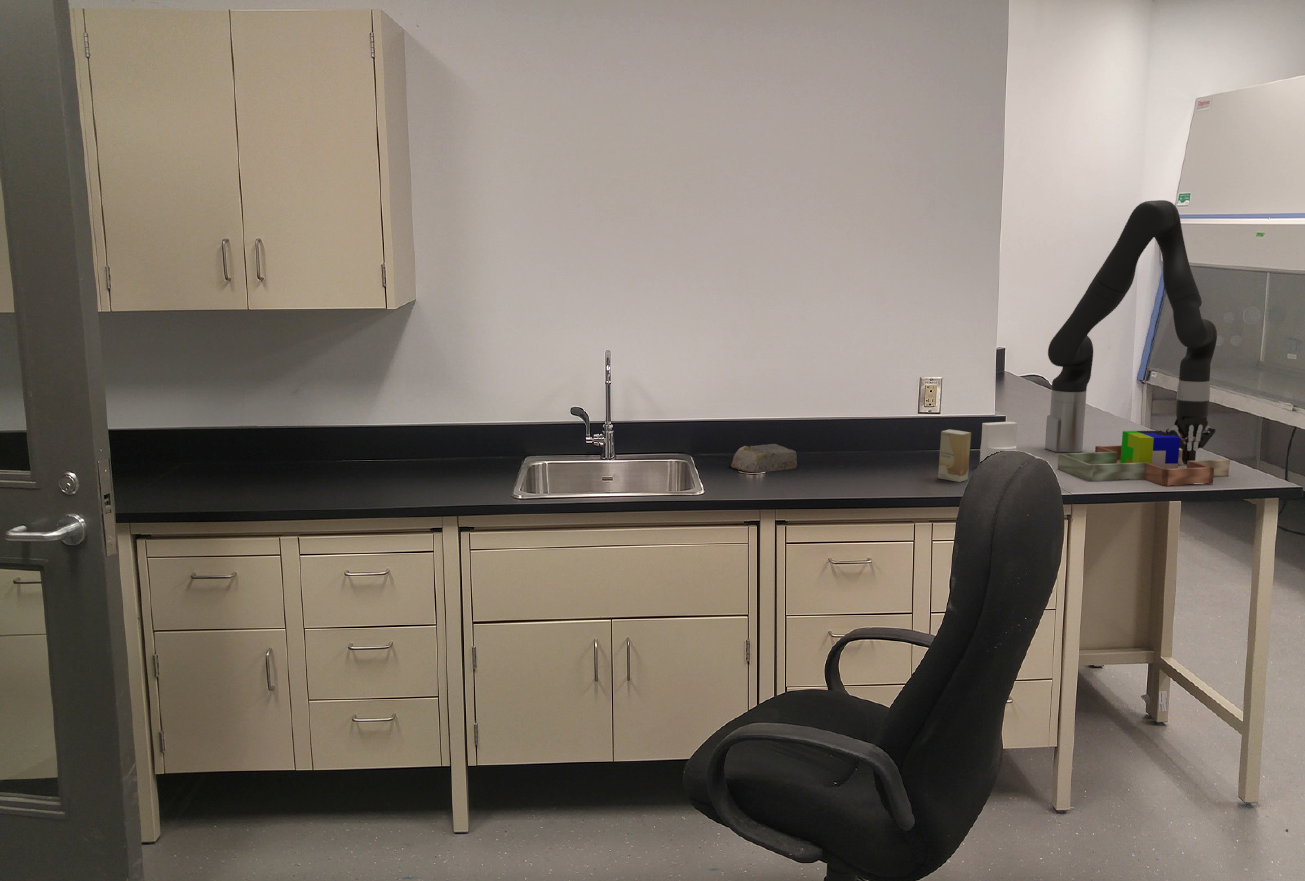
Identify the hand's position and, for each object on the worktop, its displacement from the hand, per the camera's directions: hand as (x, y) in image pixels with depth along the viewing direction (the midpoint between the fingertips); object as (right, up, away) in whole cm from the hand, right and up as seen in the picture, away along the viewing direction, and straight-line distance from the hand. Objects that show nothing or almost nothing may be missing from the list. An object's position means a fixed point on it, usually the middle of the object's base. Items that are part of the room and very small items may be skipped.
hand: (1188, 464), depth 277 cm
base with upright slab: (-48, -1, +5) cm, 48 cm away
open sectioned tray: (-13, -2, -1) cm, 13 cm away
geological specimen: (-109, -1, +8) cm, 109 cm away
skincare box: (-63, -4, -8) cm, 64 cm away
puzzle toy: (-11, -2, -1) cm, 11 cm away
